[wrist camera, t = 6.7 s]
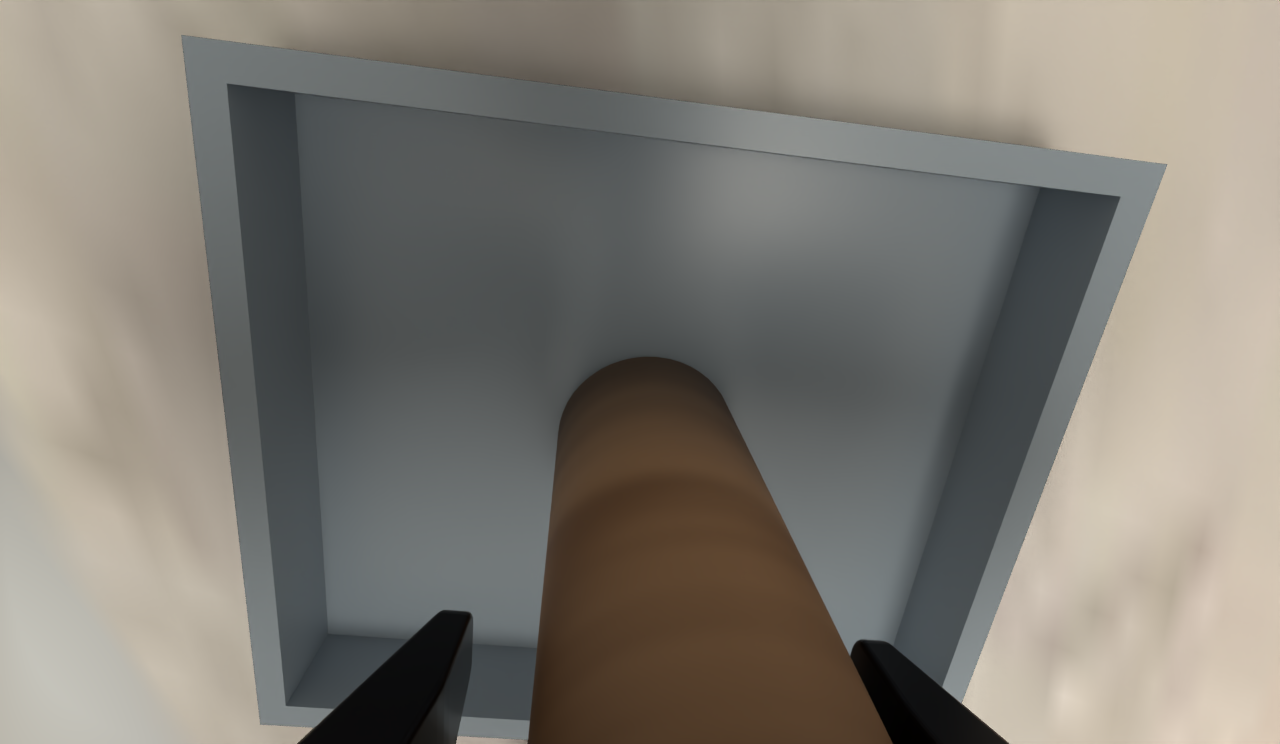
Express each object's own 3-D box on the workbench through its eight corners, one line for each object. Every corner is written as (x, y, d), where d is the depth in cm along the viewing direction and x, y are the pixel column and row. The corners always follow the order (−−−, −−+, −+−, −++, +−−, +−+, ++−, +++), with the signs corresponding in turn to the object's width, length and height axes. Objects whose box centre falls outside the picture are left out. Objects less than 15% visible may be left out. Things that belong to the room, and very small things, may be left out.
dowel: (717, 517, 15) (911, 1113, 6) (552, 507, 15) (492, 1137, 6) (746, 364, 14) (1057, 841, 5) (564, 349, 14) (512, 843, 4)
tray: (888, 667, 18) (938, 763, 15) (319, 628, 17) (260, 724, 14) (1052, 159, 14) (1166, 164, 11) (280, 59, 12) (181, 35, 10)
